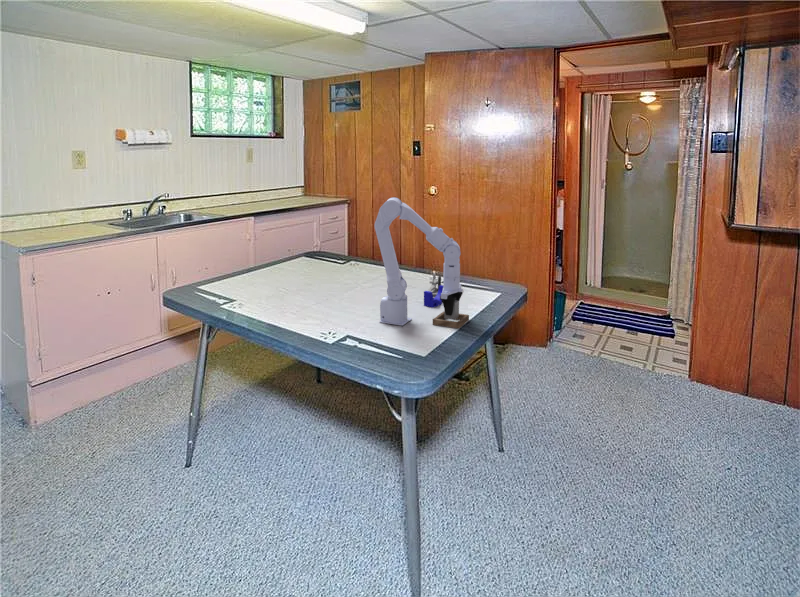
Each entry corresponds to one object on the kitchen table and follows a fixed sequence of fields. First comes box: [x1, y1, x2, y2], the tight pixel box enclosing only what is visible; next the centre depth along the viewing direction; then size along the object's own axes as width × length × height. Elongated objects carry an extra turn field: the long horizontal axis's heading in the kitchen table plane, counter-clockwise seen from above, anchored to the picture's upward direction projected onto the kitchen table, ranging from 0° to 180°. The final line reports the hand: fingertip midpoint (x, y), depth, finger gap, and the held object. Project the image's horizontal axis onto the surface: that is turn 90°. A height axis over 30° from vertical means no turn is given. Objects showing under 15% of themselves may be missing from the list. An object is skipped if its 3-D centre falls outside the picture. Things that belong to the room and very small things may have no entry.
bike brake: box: [428, 272, 442, 298], centre depth 227 cm, size 14×7×20 cm
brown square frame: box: [432, 310, 470, 330], centre depth 192 cm, size 10×10×2 cm
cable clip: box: [423, 284, 443, 309], centre depth 214 cm, size 12×4×6 cm, turn 142°
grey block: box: [443, 300, 460, 321], centre depth 191 cm, size 4×4×6 cm
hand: (451, 313), depth 191 cm, fingers closed on grey block, 4 cm apart
